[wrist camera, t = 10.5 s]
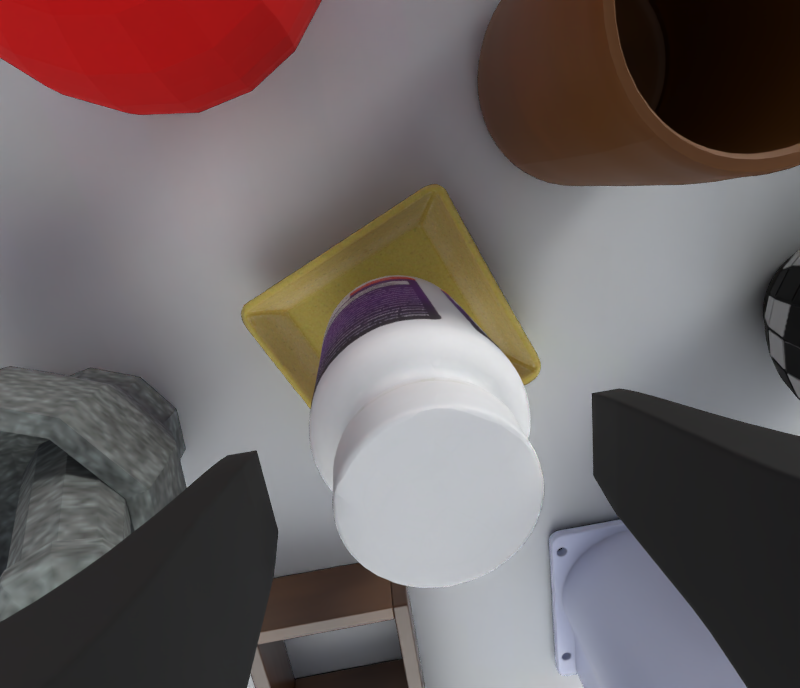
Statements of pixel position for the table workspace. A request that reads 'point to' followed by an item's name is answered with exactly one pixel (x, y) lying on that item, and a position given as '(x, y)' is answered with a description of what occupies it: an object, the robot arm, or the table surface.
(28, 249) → the table surface
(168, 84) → the tomato
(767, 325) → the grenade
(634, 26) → the mug
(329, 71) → the table surface
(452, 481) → the pill bottle
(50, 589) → the mortar and pestle
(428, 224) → the saucer
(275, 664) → the rack
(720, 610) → the robot arm
